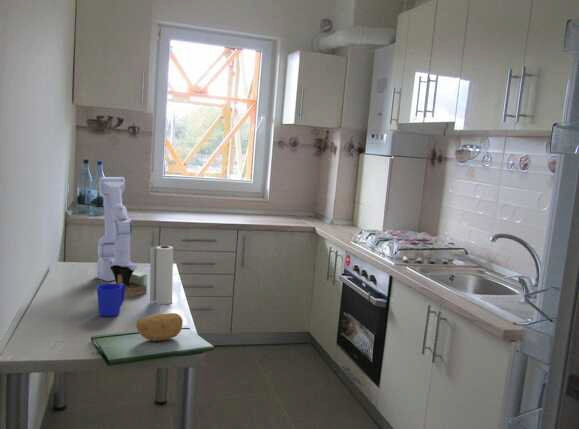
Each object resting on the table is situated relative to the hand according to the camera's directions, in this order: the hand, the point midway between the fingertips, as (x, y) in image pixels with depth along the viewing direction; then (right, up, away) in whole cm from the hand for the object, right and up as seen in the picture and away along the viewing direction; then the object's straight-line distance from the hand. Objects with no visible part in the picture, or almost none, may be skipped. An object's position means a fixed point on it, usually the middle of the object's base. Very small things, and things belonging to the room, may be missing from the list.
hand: (122, 284), depth 213 cm
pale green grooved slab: (+3, -3, +5) cm, 6 cm away
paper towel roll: (+18, -6, -8) cm, 21 cm away
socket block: (0, -3, 0) cm, 3 cm away
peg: (0, -3, 0) cm, 3 cm away
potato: (+25, -11, -45) cm, 53 cm away
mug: (+4, -7, -23) cm, 24 cm away
